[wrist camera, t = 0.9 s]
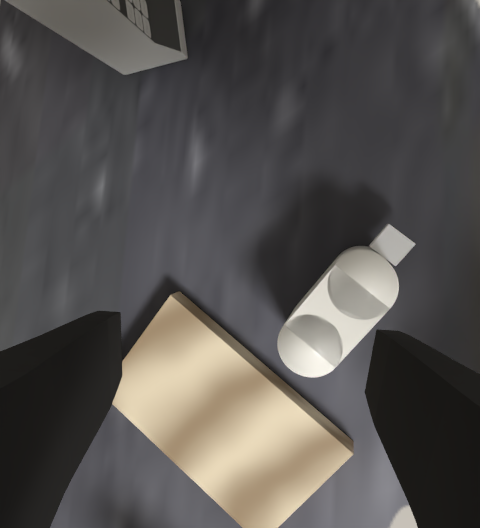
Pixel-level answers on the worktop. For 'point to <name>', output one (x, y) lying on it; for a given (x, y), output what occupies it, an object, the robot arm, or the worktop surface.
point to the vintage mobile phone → (116, 29)
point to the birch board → (227, 417)
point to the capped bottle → (343, 305)
